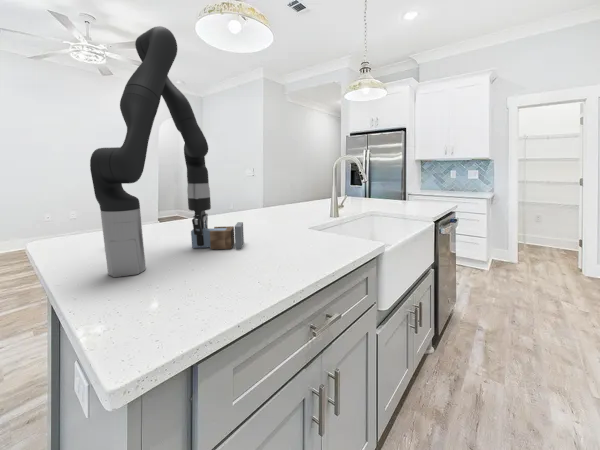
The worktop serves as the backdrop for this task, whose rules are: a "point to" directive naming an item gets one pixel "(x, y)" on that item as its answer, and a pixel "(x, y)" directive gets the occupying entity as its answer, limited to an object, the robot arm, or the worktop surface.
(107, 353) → the worktop surface
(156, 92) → the robot arm
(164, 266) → the worktop surface
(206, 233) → the peg
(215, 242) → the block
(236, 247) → the wall
